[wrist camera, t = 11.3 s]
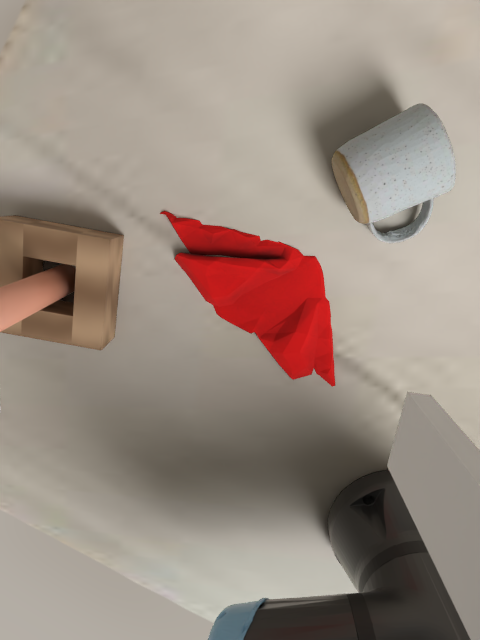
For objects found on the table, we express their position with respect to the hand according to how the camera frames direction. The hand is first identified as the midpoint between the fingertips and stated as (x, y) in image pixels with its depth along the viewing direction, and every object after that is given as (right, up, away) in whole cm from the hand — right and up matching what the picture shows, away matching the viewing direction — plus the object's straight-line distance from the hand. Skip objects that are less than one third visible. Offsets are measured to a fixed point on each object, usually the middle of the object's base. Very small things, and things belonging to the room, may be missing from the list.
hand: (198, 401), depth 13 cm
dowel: (-17, +7, +30) cm, 35 cm away
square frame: (-17, +7, +30) cm, 35 cm away
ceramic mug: (+15, +16, +26) cm, 34 cm away
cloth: (+4, +5, +31) cm, 31 cm away
